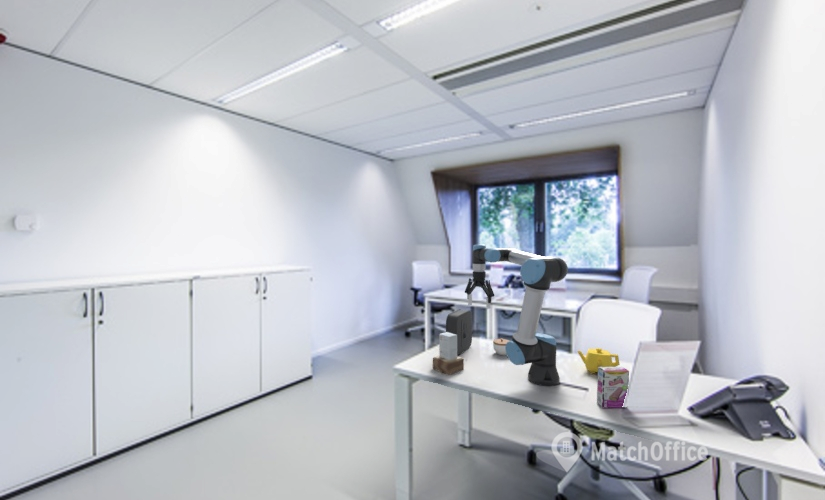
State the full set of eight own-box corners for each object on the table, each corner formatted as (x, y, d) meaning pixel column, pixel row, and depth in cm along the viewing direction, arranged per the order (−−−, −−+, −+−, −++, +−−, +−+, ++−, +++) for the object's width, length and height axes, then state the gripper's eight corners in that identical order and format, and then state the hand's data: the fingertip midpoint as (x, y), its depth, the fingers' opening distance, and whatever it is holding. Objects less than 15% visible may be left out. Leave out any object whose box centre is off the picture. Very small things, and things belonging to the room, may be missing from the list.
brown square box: (463, 369, 192) (463, 357, 192) (448, 375, 185) (448, 363, 184) (447, 363, 201) (447, 352, 201) (432, 368, 194) (432, 357, 193)
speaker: (462, 344, 237) (462, 307, 236) (474, 346, 233) (474, 309, 232) (445, 355, 216) (445, 315, 215) (458, 357, 211) (458, 316, 210)
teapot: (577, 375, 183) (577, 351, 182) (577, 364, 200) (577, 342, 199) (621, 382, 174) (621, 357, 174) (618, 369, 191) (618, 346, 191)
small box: (457, 358, 192) (457, 334, 191) (449, 360, 188) (449, 336, 187) (447, 354, 198) (447, 331, 197) (438, 356, 194) (438, 333, 193)
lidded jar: (512, 352, 220) (512, 337, 220) (507, 357, 211) (507, 342, 211) (496, 349, 226) (496, 335, 225) (490, 354, 217) (490, 339, 216)
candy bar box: (603, 409, 147) (603, 370, 147) (596, 403, 152) (596, 366, 152) (628, 408, 148) (629, 370, 147) (621, 403, 153) (622, 366, 152)
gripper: (500, 272, 198) (500, 309, 199) (467, 269, 217) (467, 303, 218) (492, 272, 193) (492, 311, 194) (458, 269, 212) (458, 304, 213)
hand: (479, 306), depth 206 cm, fingers open, 13 cm apart
